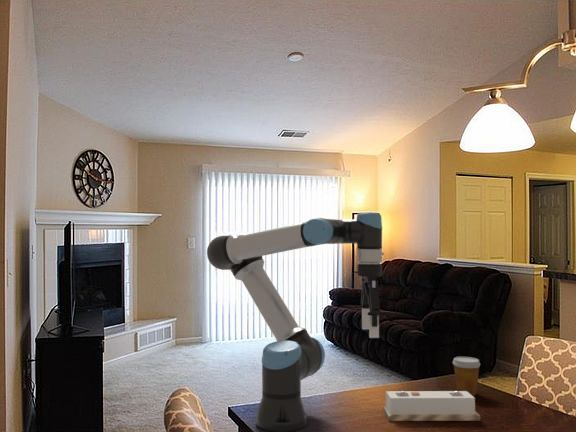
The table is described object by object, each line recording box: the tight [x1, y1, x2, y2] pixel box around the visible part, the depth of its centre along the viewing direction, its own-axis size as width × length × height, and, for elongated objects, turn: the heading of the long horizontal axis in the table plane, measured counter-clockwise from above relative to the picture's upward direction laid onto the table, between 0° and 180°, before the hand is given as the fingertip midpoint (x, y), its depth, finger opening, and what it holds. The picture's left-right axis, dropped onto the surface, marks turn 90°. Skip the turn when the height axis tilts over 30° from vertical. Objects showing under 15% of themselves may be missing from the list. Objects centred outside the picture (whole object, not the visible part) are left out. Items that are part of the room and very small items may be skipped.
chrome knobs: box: [400, 390, 460, 397], centre depth 160 cm, size 19×2×7 cm, turn 91°
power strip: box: [385, 390, 476, 415], centre depth 160 cm, size 26×7×6 cm, turn 91°
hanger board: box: [382, 405, 481, 422], centre depth 160 cm, size 28×9×2 cm, turn 91°
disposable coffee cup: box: [452, 356, 481, 397], centre depth 184 cm, size 10×10×12 cm
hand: (370, 333), depth 155 cm, fingers open, 13 cm apart
